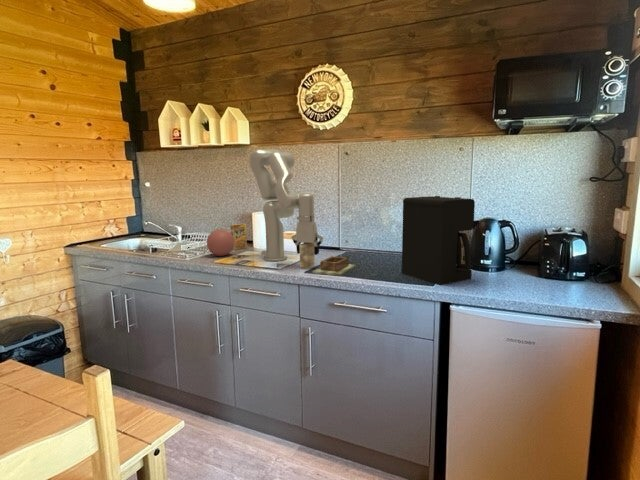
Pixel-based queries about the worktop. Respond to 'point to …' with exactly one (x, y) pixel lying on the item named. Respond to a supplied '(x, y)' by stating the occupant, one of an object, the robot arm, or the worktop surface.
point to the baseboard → (177, 248)
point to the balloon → (220, 242)
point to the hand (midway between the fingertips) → (307, 253)
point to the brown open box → (334, 266)
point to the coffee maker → (437, 238)
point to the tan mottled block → (306, 255)
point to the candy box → (239, 235)
